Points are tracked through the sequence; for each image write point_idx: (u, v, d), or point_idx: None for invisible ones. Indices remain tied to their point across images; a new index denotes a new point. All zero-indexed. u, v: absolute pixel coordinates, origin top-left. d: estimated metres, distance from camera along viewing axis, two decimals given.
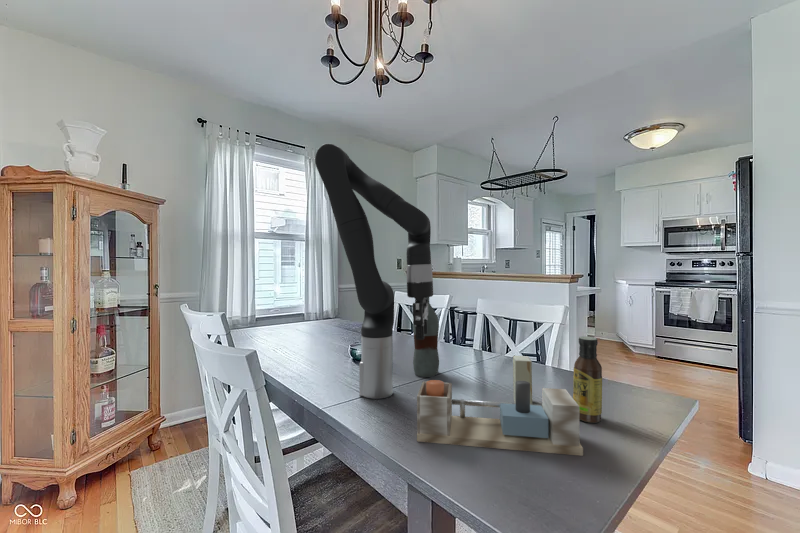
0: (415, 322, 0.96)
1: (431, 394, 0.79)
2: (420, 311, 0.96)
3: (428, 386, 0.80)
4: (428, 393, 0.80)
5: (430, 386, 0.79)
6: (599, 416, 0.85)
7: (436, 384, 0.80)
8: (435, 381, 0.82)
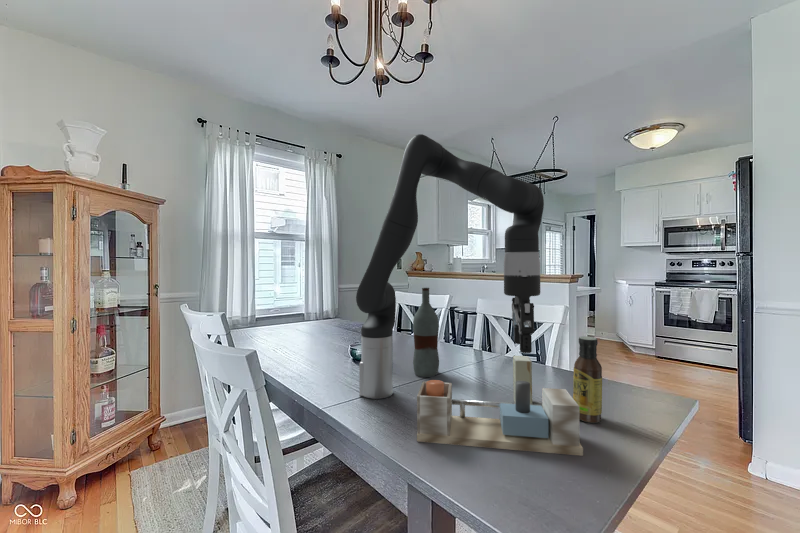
0: (524, 329, 0.71)
1: (431, 394, 0.79)
2: (531, 315, 0.71)
3: (428, 386, 0.80)
4: (428, 393, 0.80)
5: (430, 386, 0.79)
6: (599, 416, 0.85)
7: (436, 384, 0.80)
8: (435, 381, 0.82)
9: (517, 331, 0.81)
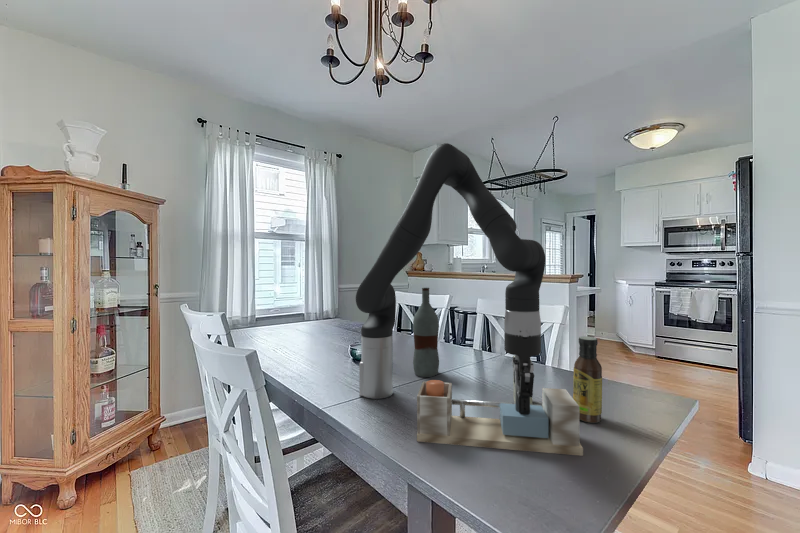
0: (522, 394, 0.73)
1: (431, 394, 0.79)
2: (531, 384, 0.72)
3: (428, 386, 0.80)
4: (428, 393, 0.80)
5: (430, 386, 0.79)
6: (599, 416, 0.85)
7: (436, 384, 0.80)
8: (435, 381, 0.82)
9: None
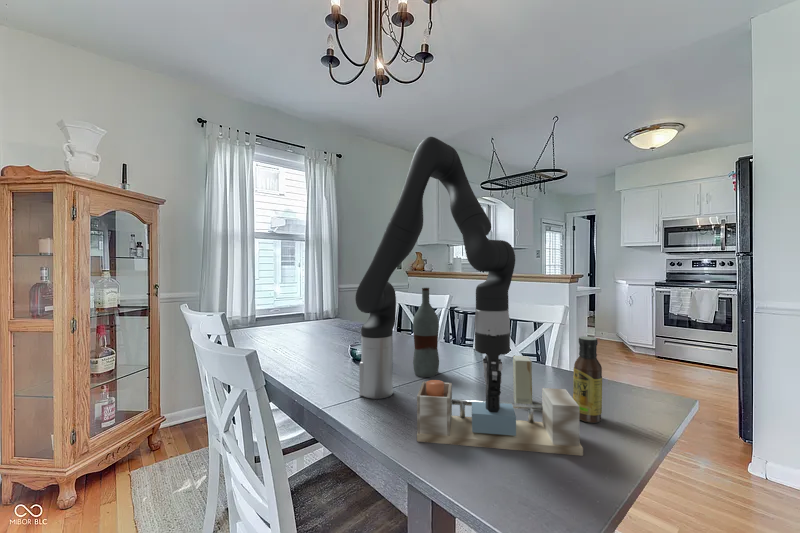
0: (490, 393, 0.74)
1: (431, 394, 0.79)
2: (498, 382, 0.73)
3: (428, 386, 0.80)
4: (428, 393, 0.80)
5: (430, 386, 0.79)
6: (599, 416, 0.85)
7: (436, 384, 0.80)
8: (435, 381, 0.82)
9: None
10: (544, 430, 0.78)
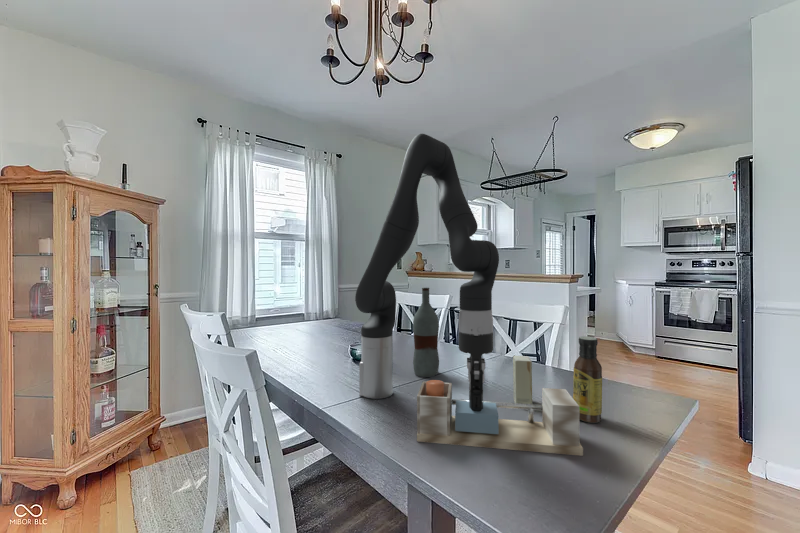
0: (473, 392, 0.75)
1: (431, 394, 0.79)
2: (480, 381, 0.73)
3: (428, 386, 0.80)
4: (428, 393, 0.80)
5: (430, 386, 0.79)
6: (599, 416, 0.85)
7: (436, 384, 0.80)
8: (435, 381, 0.82)
9: None
10: (544, 430, 0.78)
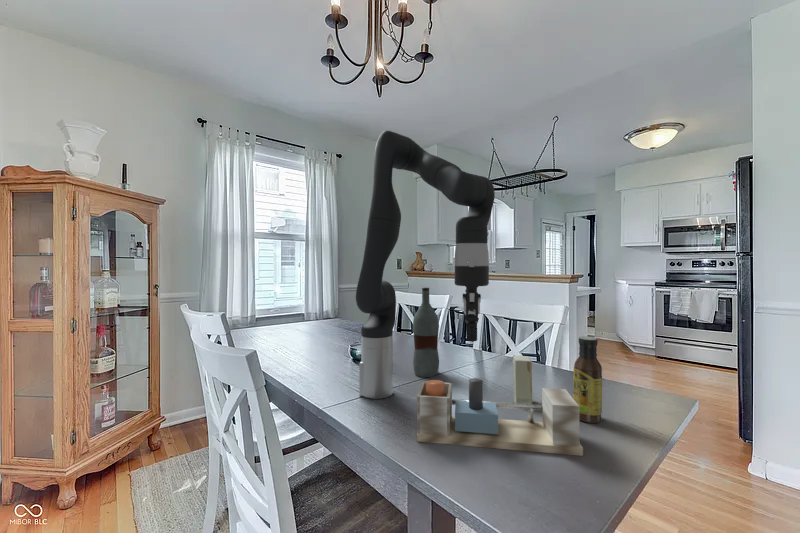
0: (468, 318, 0.73)
1: (431, 394, 0.79)
2: (476, 304, 0.73)
3: (428, 386, 0.80)
4: (428, 393, 0.80)
5: (430, 386, 0.79)
6: (599, 416, 0.85)
7: (436, 384, 0.80)
8: (435, 381, 0.82)
9: None
10: (544, 430, 0.78)
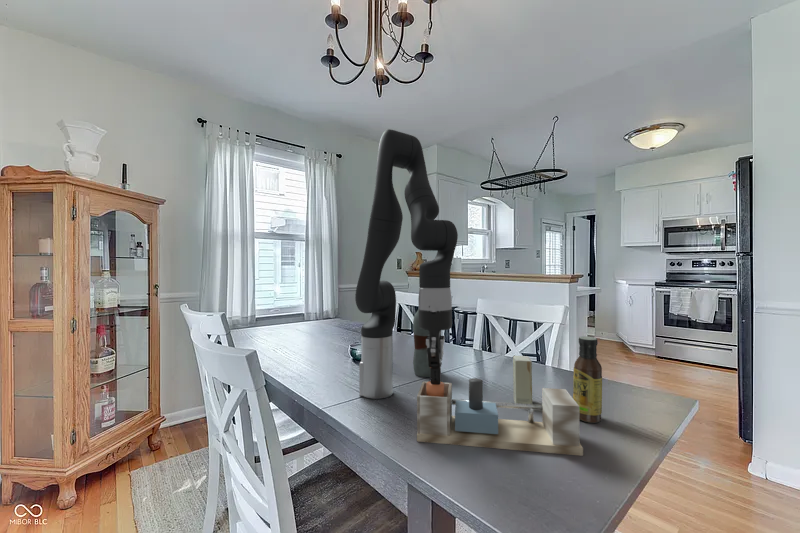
0: (431, 366, 0.78)
1: (431, 395, 0.79)
2: (437, 358, 0.76)
3: (428, 387, 0.80)
4: (428, 394, 0.80)
5: (430, 387, 0.79)
6: (599, 416, 0.85)
7: (436, 385, 0.80)
8: None
9: None
10: (544, 430, 0.78)
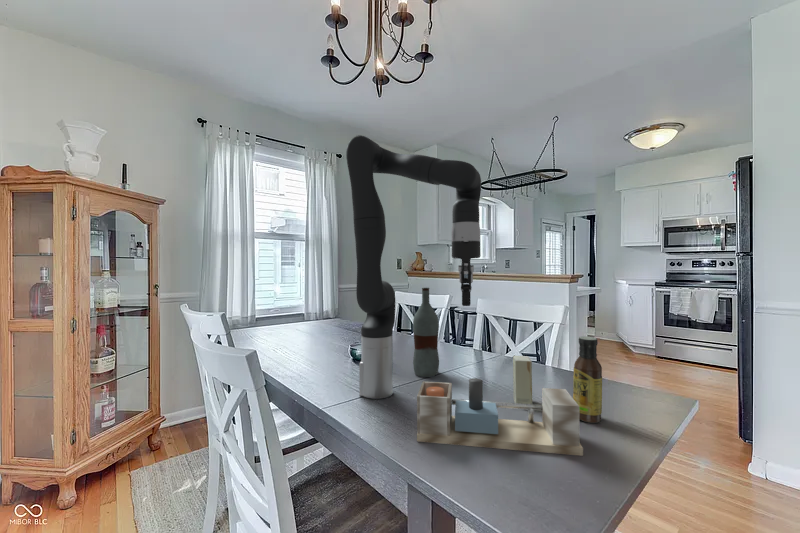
0: (463, 288, 0.91)
1: None
2: (469, 279, 0.89)
3: (428, 393, 0.80)
4: None
5: (430, 393, 0.79)
6: (599, 416, 0.85)
7: (436, 391, 0.80)
8: (435, 387, 0.82)
9: None
10: (544, 430, 0.78)
